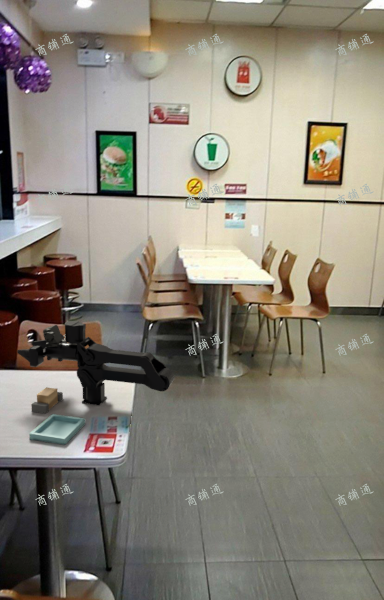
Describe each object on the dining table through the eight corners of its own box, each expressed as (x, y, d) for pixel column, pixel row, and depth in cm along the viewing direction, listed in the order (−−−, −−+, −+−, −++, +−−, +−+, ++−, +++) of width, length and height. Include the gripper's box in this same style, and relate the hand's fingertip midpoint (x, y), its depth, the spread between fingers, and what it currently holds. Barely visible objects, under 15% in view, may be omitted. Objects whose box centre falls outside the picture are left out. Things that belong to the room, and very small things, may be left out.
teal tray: (85, 423, 150) (85, 418, 149) (64, 444, 137) (64, 438, 137) (52, 419, 152) (52, 413, 152) (29, 439, 140) (29, 433, 139)
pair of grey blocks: (62, 399, 166) (62, 392, 166) (45, 413, 156) (45, 406, 155) (49, 397, 167) (49, 390, 167) (31, 411, 157) (31, 404, 156)
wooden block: (57, 402, 164) (57, 388, 163) (48, 410, 158) (47, 395, 157) (46, 401, 165) (46, 387, 164) (37, 408, 159) (36, 394, 158)
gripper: (78, 321, 172) (38, 317, 175) (51, 336, 154) (7, 332, 158) (79, 351, 174) (39, 347, 178) (53, 369, 157) (9, 364, 160)
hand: (25, 347), depth 168 cm, fingers open, 9 cm apart
